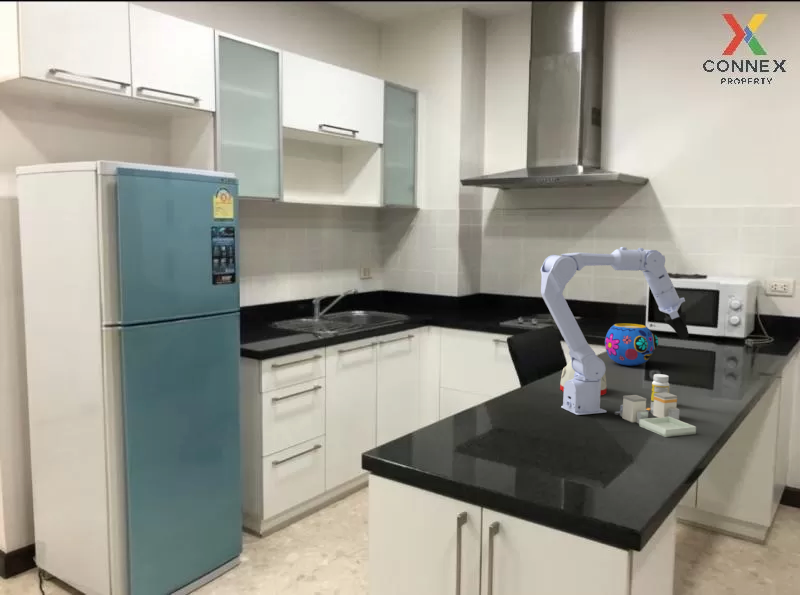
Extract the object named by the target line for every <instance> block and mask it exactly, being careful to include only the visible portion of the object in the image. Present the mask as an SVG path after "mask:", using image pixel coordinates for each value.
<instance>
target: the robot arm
mask: <svg viewBox="0 0 800 595" xmlns="http://www.w3.org/2000/svg"><path fill="white" fill-rule="evenodd" d="M665 263H666V257H665V255H664V254H662V253H661V252H660V251H659V250H657V249H645V248H643V247H638V248H637V249H627V246H621V247H620V246H619V248H616V249H615V250H613V251H612V252H611V253H596V252H593V253H592V252H570V253H567V252H566V253H561V254H560V255H559V254H551V255H549V256H547V257H545V259H544V261H543V262H542V265H541V267H540V273H541V280H540V281H541V282H540V295H541V297H542V299H543V301H544V303H545V305H546V307H547V308H548V310H549V313H550V315H551V316H552V318H553V320H554V323H555V325H556V326H557V328H558V330H559V332H560V334H561V336H562V338H563V339H564V342H565V344H566V345H567V348H568V350H569V351H568V355H569V357H570V360H571V365H572V368H573V370H574V371H575V374H574V378H573V379H571V380H568V381H566V382H565V384H564V392H563V394H562V396H563V397H562V398H563V399H562V405H561V407H560V408H561V409H564V410H566V411H567V412H570V413H572V414H574V415H576V416H580V415H592V414H593V415H595V414H603V413H607V410H606V409H603V408H600V407H601V395H600V392H601V378H602V377H603V375H604V374H605V375H606V369H607V368H606V364H605V362H604V360H602V358H600V357H598V355H597V354H596V352H595V351H594V349H593V347H591V346H590V345H589V343H588V342H587V340H586V338H585V336H584V333H583V332H582V330H581V327H580V326H579V324H578V321H577V320H576V319H575V318H576V317H575V316H574V314H573V312H572V311H571V308H570V307H569V305H568V302H567V300H566V299H565V298H566V297H565V296H564V295H563V293H564V291H565V288H566V286H567V284H568V283H569V282H570V280H572V279H573V277H574V276H575V274H576V273H577V271H581V270H583V268H585V267H586V266H594V267H595V266H611V267H612V268H613V270H615V271H635V272H637V271H638V272H639V271H641V272H642V274H643V276H644V278H645V280H646V282H647V285H648V287H649V289H650V290H651V294H652V295H653V297H654V300H655V303H656V304H657V306H658V310H659V311H660V312H662V313H663V314H664V315H665V316H666V317H664V318H663V319H664V322H665V323H666V324H667V325H669V326H670V327H671V328H672V329H673V330H674V332H675V333H676V335H677V336H678V337H679V339H680V340H683V339H686V338H689V336H690V335H689V330H688V326H687V312H686V311H683V312H682V306H683V305H682V304H683V303H685V302H686V300H685V297H680V296H679V295H678V292H677V290H676V288H675V286H674V284H673V281H672V279H671V278H670V275H669V273H668V271H667V269H666V267H665V265H666V264H665Z"/></svg>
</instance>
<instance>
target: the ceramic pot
mask: <svg viewBox="0 0 800 595" xmlns="http://www.w3.org/2000/svg"><path fill="white" fill-rule="evenodd" d="M604 338H605V339H604V346H605V347H604V348H605V351H606V353H607V356H608V357H609V358H610V360H611V361H613V362H615V363H617V364H620V365H621V366H626V367H635V366H639V365H643V364H644V363H647V362H648V361H649V360H650V358H651V357H652V355H653V354H654V350H656V349H657V348H658V346H659V338H658V336H657V335H656V334H654V333H652V331H651V329H650V328H648V326H646V325H644V324H638V323H622V322H621V323H615V324H613V325H612V326H611V327H610V328H609V329H608V330H607V333H606V335H605V337H604Z"/></svg>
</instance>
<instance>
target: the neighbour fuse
mask: <svg viewBox="0 0 800 595" xmlns="http://www.w3.org/2000/svg"><path fill="white" fill-rule="evenodd" d="M622 398H623V400H622V405H623V414H622V416H621V417H622V419H624V420H625V421H628V422H630V423H636V421H637V411H646V409H647V398H646V397H645V396H644V397H643V396H641V395H638V394H632V395H631V394H630V395H623V396H622Z"/></svg>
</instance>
